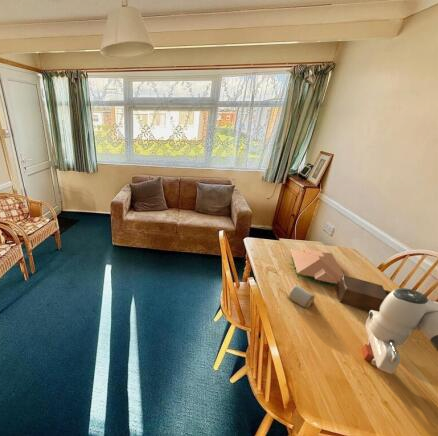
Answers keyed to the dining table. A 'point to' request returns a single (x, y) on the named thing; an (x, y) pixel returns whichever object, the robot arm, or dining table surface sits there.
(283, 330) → the dining table surface
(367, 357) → the block
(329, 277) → the house
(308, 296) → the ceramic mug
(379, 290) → the cabinet
